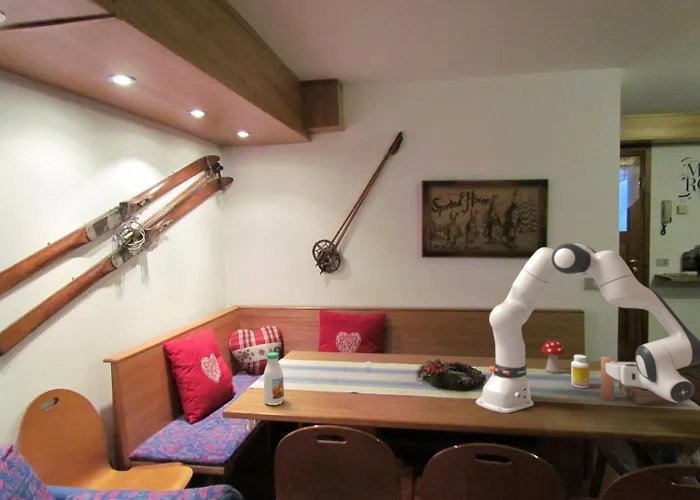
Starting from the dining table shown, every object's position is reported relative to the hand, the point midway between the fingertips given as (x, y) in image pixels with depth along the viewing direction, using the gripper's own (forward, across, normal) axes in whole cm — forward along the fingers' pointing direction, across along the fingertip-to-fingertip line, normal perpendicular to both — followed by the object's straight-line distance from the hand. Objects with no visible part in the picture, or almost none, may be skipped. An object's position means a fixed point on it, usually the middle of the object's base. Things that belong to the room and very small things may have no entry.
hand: (625, 362), depth 161 cm
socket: (+12, -14, +18) cm, 26 cm away
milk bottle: (+10, +132, +17) cm, 134 cm away
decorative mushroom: (+44, +9, +18) cm, 48 cm away
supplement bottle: (+26, +5, +18) cm, 32 cm away
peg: (+12, 0, +18) cm, 22 cm away
